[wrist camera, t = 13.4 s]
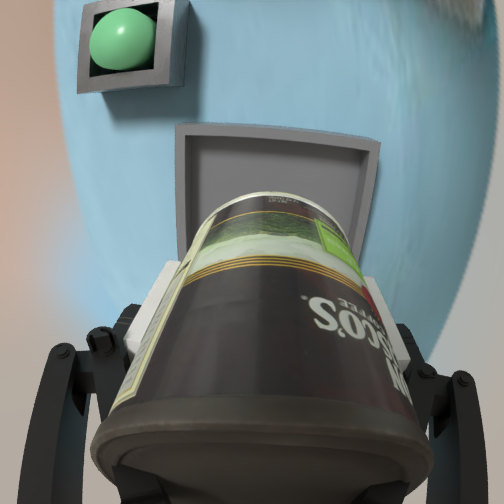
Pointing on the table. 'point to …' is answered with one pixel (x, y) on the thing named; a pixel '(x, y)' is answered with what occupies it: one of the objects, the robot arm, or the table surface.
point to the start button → (124, 41)
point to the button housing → (166, 47)
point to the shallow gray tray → (272, 172)
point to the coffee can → (266, 370)
